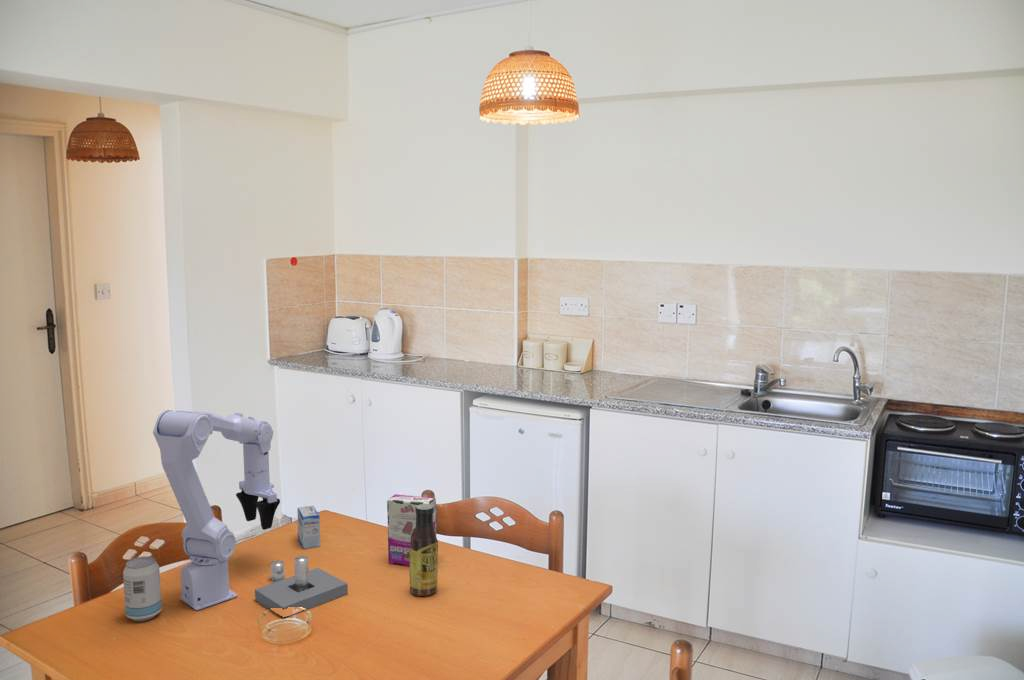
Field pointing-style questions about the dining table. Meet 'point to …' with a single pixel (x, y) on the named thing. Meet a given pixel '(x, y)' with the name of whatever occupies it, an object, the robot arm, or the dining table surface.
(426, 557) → the sauce bottle
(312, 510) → the medicine box
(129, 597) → the beverage can
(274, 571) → the short pin
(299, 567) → the tall pin
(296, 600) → the hole board
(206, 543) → the robot arm
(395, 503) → the candy bar box
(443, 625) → the dining table surface
